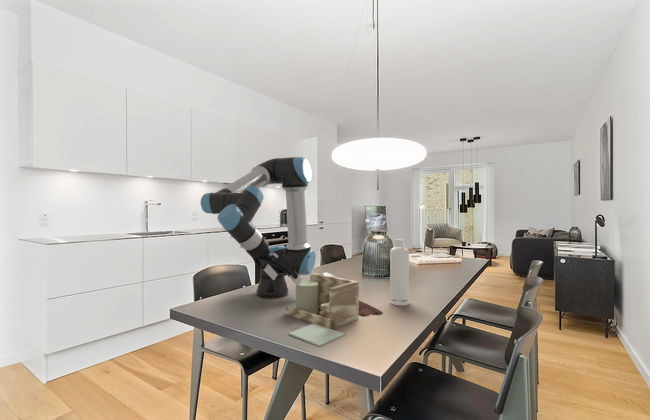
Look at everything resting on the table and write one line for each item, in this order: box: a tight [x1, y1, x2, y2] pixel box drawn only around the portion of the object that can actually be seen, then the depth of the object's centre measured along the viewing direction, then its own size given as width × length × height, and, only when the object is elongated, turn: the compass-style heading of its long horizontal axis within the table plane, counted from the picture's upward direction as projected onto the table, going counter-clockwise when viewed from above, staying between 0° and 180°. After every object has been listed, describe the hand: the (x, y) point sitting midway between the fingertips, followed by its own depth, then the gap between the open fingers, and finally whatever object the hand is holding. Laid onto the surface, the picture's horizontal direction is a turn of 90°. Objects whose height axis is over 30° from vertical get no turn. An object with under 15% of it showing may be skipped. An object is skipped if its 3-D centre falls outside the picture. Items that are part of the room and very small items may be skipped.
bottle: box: [389, 238, 410, 307], centre depth 143 cm, size 8×8×28 cm
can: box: [295, 280, 319, 315], centre depth 130 cm, size 9×9×12 cm
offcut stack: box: [319, 302, 330, 318], centre depth 120 cm, size 7×10×6 cm
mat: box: [288, 323, 345, 347], centre depth 107 cm, size 14×12×1 cm
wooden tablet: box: [359, 300, 383, 317], centre depth 139 cm, size 26×2×10 cm
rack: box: [285, 272, 360, 330], centre depth 125 cm, size 24×15×14 cm, turn 48°
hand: (287, 279), depth 122 cm, fingers open, 13 cm apart
